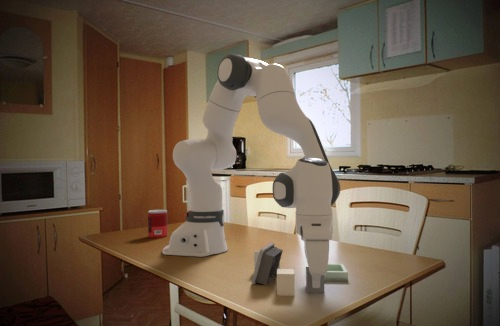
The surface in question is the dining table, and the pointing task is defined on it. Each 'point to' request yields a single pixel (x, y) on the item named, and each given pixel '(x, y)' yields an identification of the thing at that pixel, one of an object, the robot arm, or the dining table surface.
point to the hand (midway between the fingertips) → (314, 283)
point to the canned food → (157, 223)
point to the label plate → (257, 258)
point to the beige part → (285, 282)
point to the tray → (336, 273)
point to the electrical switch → (267, 264)
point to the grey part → (309, 283)
